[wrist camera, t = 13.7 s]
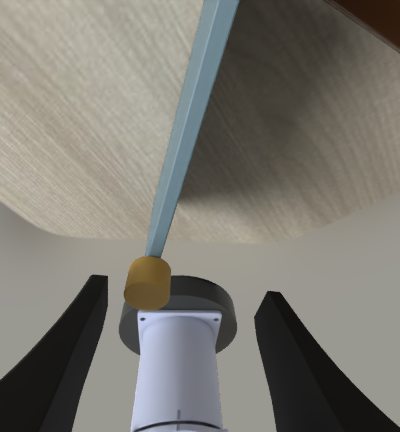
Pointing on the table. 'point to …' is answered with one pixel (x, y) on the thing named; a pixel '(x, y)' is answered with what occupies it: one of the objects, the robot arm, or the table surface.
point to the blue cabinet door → (180, 153)
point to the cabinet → (374, 17)
